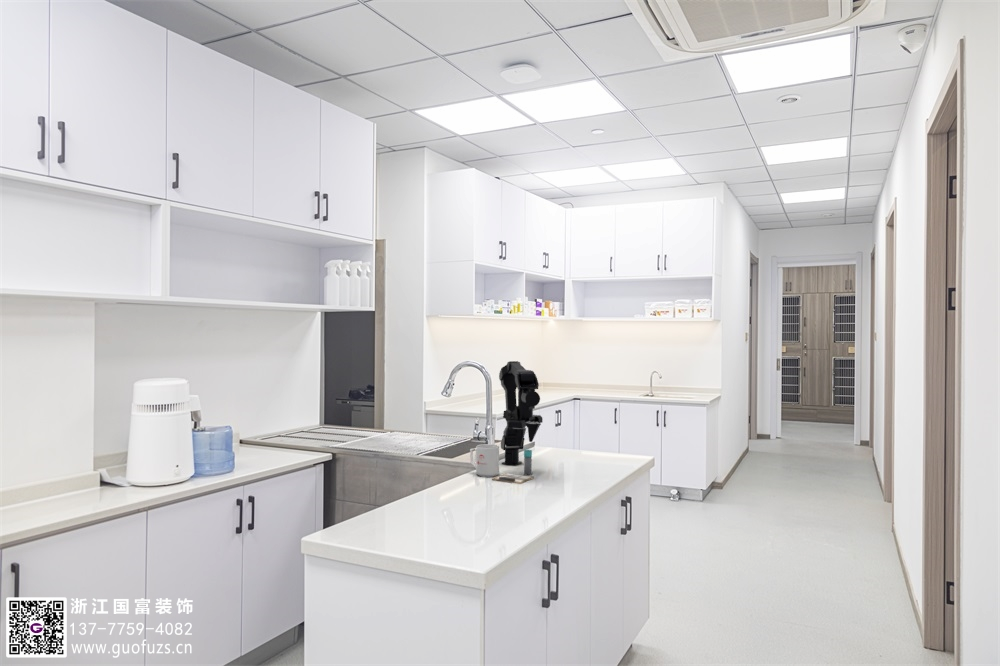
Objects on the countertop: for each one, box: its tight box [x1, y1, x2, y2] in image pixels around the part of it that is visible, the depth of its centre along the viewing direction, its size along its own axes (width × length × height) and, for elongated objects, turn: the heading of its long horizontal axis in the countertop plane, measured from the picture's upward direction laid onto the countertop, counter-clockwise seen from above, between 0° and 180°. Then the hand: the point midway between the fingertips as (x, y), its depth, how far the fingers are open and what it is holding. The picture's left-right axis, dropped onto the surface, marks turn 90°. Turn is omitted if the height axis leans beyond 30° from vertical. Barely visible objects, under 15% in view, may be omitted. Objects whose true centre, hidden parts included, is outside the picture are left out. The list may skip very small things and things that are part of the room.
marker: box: [523, 449, 533, 476], centre depth 259 cm, size 3×3×9 cm
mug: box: [469, 443, 500, 478], centre depth 259 cm, size 12×9×11 cm
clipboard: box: [491, 473, 535, 485], centre depth 252 cm, size 11×12×1 cm
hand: (525, 443), depth 259 cm, fingers open, 9 cm apart
